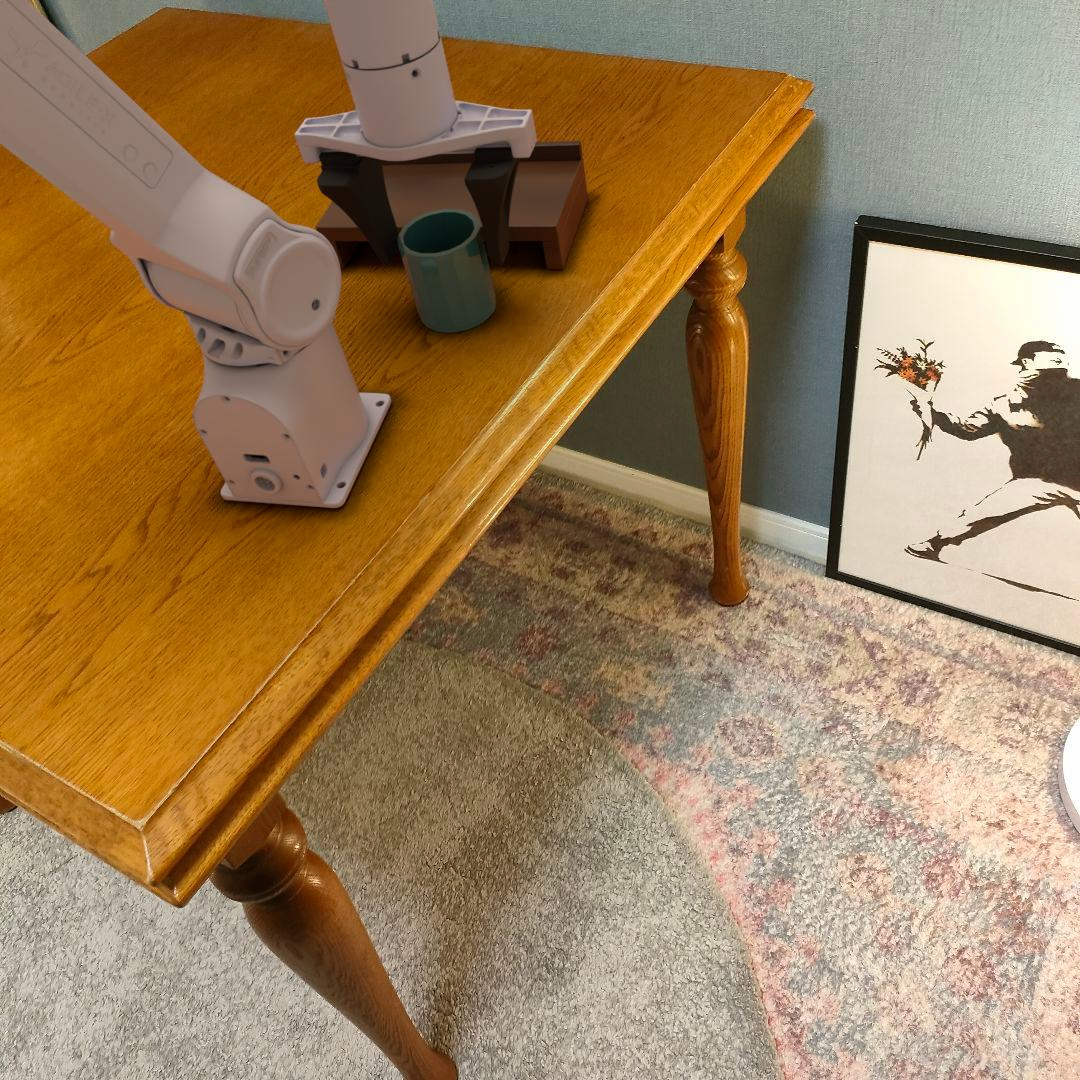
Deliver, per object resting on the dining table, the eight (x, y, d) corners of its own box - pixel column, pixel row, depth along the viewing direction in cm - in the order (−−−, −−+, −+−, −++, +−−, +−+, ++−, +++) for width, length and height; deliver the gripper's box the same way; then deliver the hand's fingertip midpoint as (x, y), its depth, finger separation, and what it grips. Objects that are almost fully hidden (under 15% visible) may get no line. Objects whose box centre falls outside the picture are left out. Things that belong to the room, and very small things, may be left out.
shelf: (563, 270, 70) (553, 210, 66) (329, 268, 75) (309, 212, 71) (588, 199, 75) (581, 140, 72) (369, 201, 80) (352, 146, 77)
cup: (485, 334, 67) (466, 256, 62) (409, 332, 68) (386, 256, 63) (505, 285, 70) (488, 208, 65) (432, 284, 71) (412, 209, 67)
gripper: (532, 6, 56) (564, 220, 66) (299, 22, 60) (364, 221, 70) (501, 66, 52) (541, 284, 62) (252, 78, 56) (328, 282, 66)
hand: (445, 255), depth 66 cm, fingers open, 7 cm apart
